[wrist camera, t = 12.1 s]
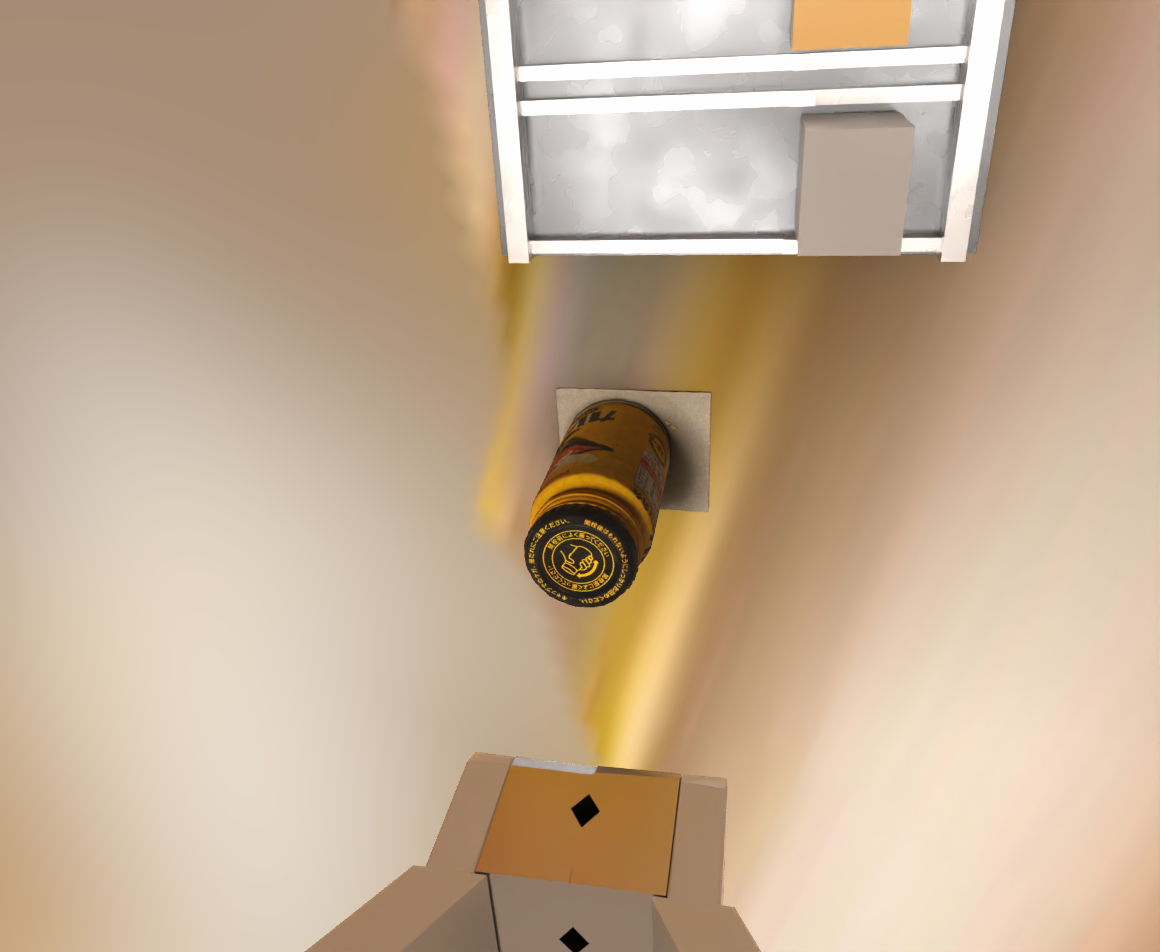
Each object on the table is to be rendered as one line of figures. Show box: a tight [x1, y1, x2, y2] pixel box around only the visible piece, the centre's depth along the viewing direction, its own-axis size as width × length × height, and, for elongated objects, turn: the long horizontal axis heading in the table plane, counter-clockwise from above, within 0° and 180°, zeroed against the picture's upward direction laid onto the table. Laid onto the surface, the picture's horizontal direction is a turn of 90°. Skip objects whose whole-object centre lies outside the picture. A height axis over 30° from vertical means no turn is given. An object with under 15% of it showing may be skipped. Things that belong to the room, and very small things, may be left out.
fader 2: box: [795, 111, 916, 256], centre depth 37 cm, size 4×5×5 cm
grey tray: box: [479, 0, 1015, 263], centre depth 39 cm, size 22×15×3 cm
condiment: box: [524, 388, 711, 607], centre depth 45 cm, size 7×8×12 cm
